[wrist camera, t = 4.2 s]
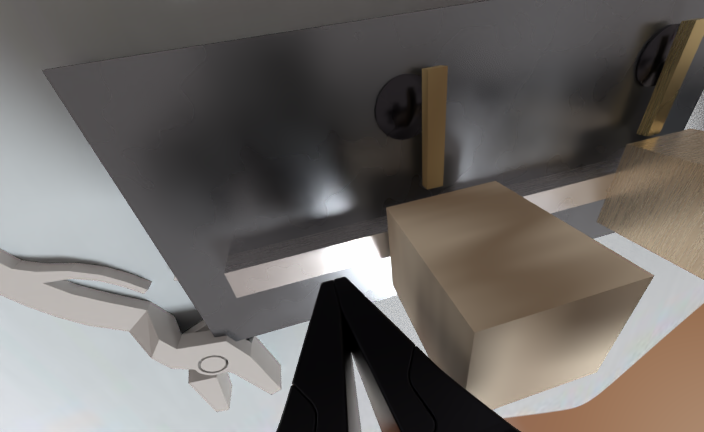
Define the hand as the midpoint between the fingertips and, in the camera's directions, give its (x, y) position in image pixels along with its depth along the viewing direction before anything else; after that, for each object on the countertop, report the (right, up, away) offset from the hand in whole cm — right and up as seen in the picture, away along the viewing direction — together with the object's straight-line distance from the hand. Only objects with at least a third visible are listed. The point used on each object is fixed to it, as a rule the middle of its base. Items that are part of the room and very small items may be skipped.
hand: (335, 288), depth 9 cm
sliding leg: (+3, +4, +1) cm, 5 cm away
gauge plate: (+4, +4, +3) cm, 7 cm away
